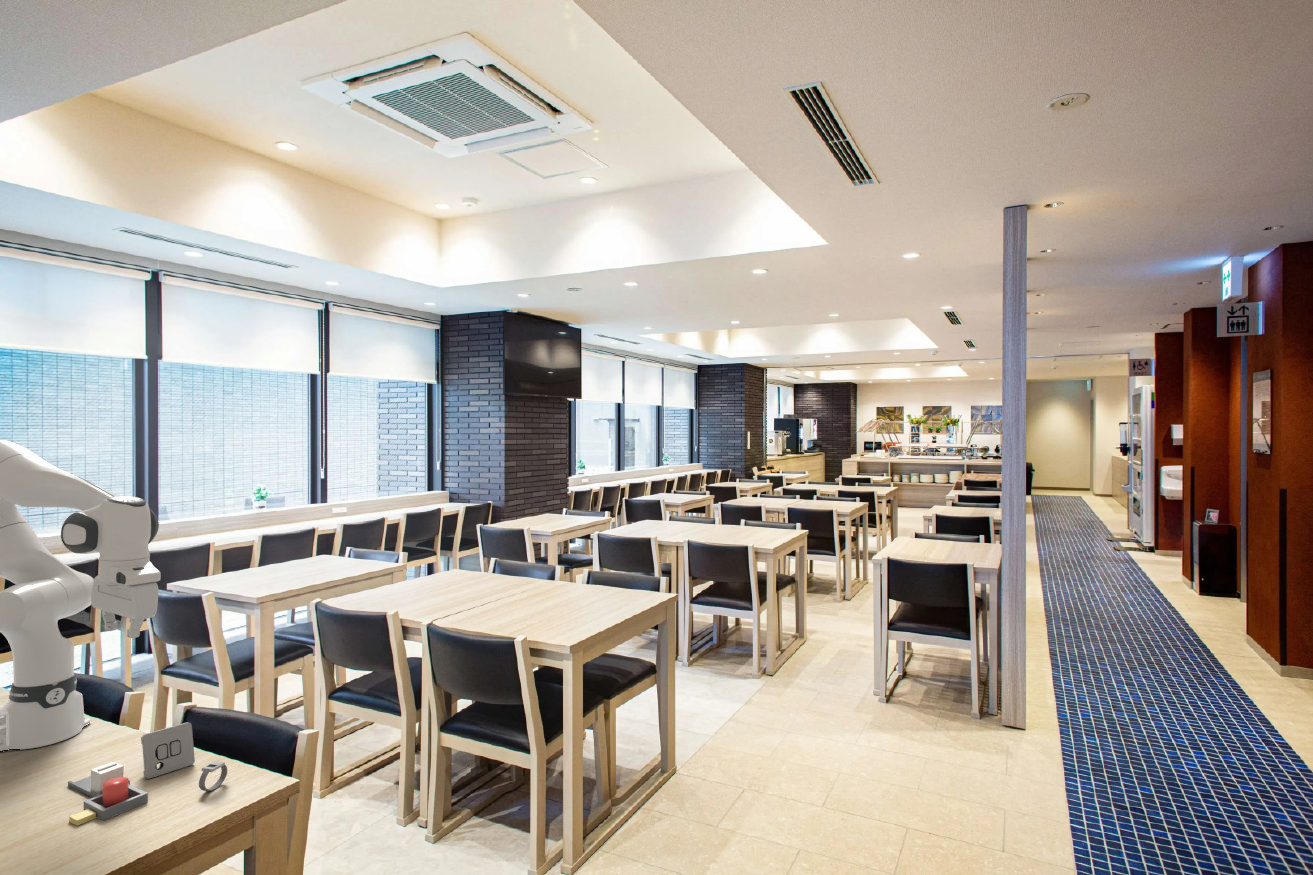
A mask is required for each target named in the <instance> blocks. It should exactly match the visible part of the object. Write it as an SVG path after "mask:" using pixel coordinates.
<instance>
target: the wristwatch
mask: <svg viewBox="0 0 1313 875" xmlns="http://www.w3.org/2000/svg"><path fill="white" fill-rule="evenodd" d="M219 769H220V770H221V773H220V776H219V778H218V780H217V781H216V782H215V783H214V784H213V785H212V786H210V787H209V788H207V787H206V779H207V777H208V775H209V773H213V772H215V771H216V770H219ZM201 772H202V773H201V775H200V777H199V780H198V788H199V789H200V790H201V791H204V792H213V791H215V790H216V789H217V788H219V787H220V786H221V785H222V784H223V783H224V781H225V780H226V777H227V774H228V767H227V765H226V762H225V761H217V760H214V761H213V762H210V763H209V764H207V765H205V766H204V767H201Z"/></svg>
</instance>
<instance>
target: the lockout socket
mask: <svg viewBox="0 0 1313 875" xmlns="http://www.w3.org/2000/svg"><path fill="white" fill-rule="evenodd" d="M148 802H149V792H147V791H144V790H141V789H140V788H137V787H135V786H133V785H131V784H130V785H129V784H128V799H127V800H125V801H122V802H120V803H118V804H115V805H113V806H110V807H108V808H105V807H103V794H101V795H99V796H96V797H94V798H91V797H90V798H89V799H86V800H84V801H83V810H82V811H79V812H77V813H74V814H72V815H69V820H68V821H69V822H70V823H71V824H73V825H75V826H79V825H82V824H85V823H87V822H89V821H92V820H94V819H96V818H97V819H99V820H101V821H105V820H108V819H110V818H112V817H113V818H114V817H115V816H118V815H120V814H123V813H124V812H125V813H126V812H128V811H129V810H132V809H134V808H137V807H140V806H141V805H144V804H147V803H148Z"/></svg>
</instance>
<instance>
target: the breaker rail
mask: <svg viewBox="0 0 1313 875" xmlns="http://www.w3.org/2000/svg"><path fill="white" fill-rule="evenodd" d="M128 784H129V785H131V780H130V779H129V781H128ZM67 787H69V788H71V789H73V790H74V791H77V792H78V793H81V794H82V795H84V796H87V797H88V798H90V799H91V798H94V797H96V796H99V795H101V794H103V789H102V790H100V791H98V794H97V793H95V792H93V791H91V775H90V776H88V777H84V778H82V779H79V780H76V781H73V780H68V781H67Z"/></svg>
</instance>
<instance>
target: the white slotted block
mask: <svg viewBox="0 0 1313 875" xmlns="http://www.w3.org/2000/svg"><path fill="white" fill-rule="evenodd" d="M124 770H125V769H124V765H122V764H120V763H118V762H115V761H111V762H109V763H106V764H103V765H100V766H97V767H95V768H91V769H90V776H91V791H93V792H95V793H97V794H98V791H100V790H102V789H103V784H104V783H105V782H107V781H109V780H111V779H115V778H120V777H124Z"/></svg>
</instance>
